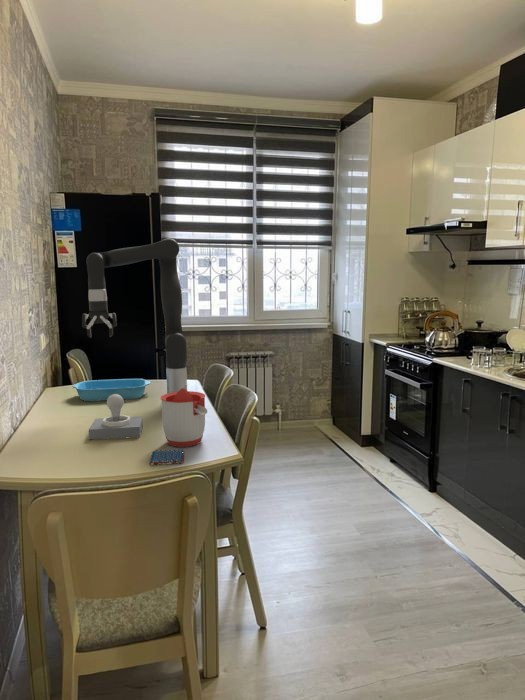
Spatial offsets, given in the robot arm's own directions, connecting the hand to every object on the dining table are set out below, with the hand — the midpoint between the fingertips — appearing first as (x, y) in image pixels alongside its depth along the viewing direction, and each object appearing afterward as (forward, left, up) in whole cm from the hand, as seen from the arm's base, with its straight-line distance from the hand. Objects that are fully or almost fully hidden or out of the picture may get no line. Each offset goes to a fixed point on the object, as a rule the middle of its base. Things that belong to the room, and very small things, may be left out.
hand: (100, 337), depth 215 cm
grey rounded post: (-10, +35, -29) cm, 46 cm away
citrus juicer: (-36, +51, -33) cm, 70 cm away
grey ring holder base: (-10, +35, -33) cm, 49 cm away
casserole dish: (0, -25, -33) cm, 42 cm away
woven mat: (-30, +66, -34) cm, 80 cm away
